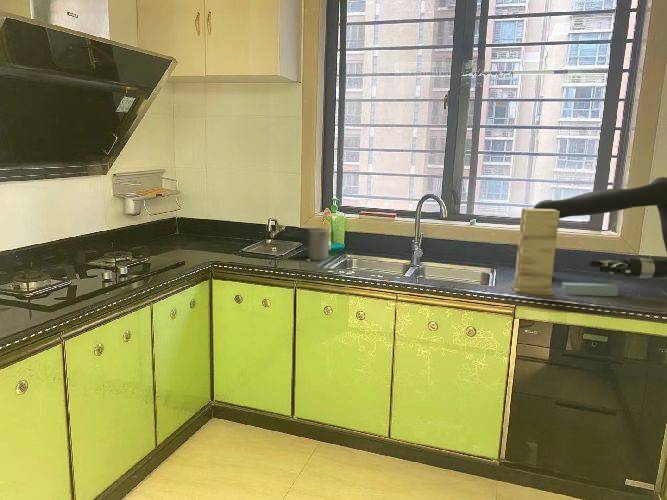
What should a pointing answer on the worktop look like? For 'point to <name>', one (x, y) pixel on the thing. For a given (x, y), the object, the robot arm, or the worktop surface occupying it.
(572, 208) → the robot arm
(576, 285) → the slate bar
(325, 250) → the pillar candle
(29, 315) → the worktop surface
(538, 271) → the oak block
